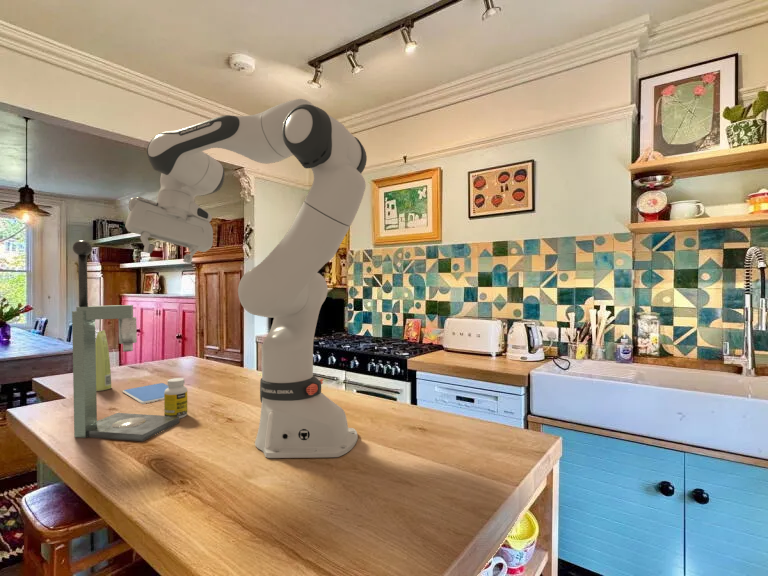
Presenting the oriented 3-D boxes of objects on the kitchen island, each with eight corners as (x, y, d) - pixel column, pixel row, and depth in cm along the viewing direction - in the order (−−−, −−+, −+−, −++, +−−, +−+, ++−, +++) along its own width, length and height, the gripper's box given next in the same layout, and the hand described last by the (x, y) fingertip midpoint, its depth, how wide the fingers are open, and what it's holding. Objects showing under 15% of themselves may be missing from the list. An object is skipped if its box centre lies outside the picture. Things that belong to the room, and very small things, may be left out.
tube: (89, 389, 132) (88, 331, 131) (105, 386, 136) (104, 329, 136) (98, 392, 129) (97, 332, 129) (115, 388, 134) (114, 330, 133)
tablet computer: (186, 396, 125) (186, 392, 125) (142, 406, 116) (142, 401, 116) (163, 386, 138) (163, 382, 138) (121, 394, 129) (121, 389, 129)
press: (179, 422, 101) (176, 243, 100) (139, 442, 88) (136, 237, 87) (117, 418, 104) (114, 244, 103) (71, 437, 91) (67, 239, 91)
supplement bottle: (177, 420, 102) (177, 382, 102) (159, 419, 103) (159, 381, 103) (192, 413, 108) (191, 377, 107) (174, 412, 109) (174, 376, 108)
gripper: (135, 188, 96) (125, 241, 91) (217, 217, 110) (213, 263, 106) (126, 199, 99) (116, 249, 95) (207, 225, 114) (202, 270, 110)
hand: (168, 257), depth 100 cm, fingers open, 8 cm apart
